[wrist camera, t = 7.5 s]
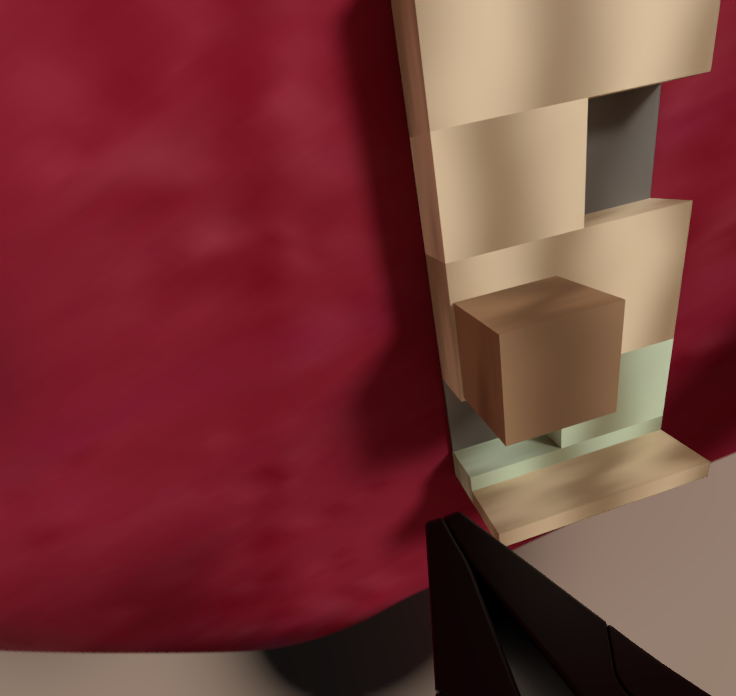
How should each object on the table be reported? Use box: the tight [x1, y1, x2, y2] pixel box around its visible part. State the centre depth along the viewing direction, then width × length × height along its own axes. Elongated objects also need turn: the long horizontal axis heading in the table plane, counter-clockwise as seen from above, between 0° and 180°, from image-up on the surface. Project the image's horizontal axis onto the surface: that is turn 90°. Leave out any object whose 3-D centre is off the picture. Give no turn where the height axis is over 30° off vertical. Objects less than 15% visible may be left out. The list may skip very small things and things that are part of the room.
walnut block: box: [453, 276, 625, 446], centre depth 17 cm, size 5×5×4 cm
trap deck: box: [391, 0, 720, 546], centre depth 18 cm, size 12×25×6 cm, turn 12°
